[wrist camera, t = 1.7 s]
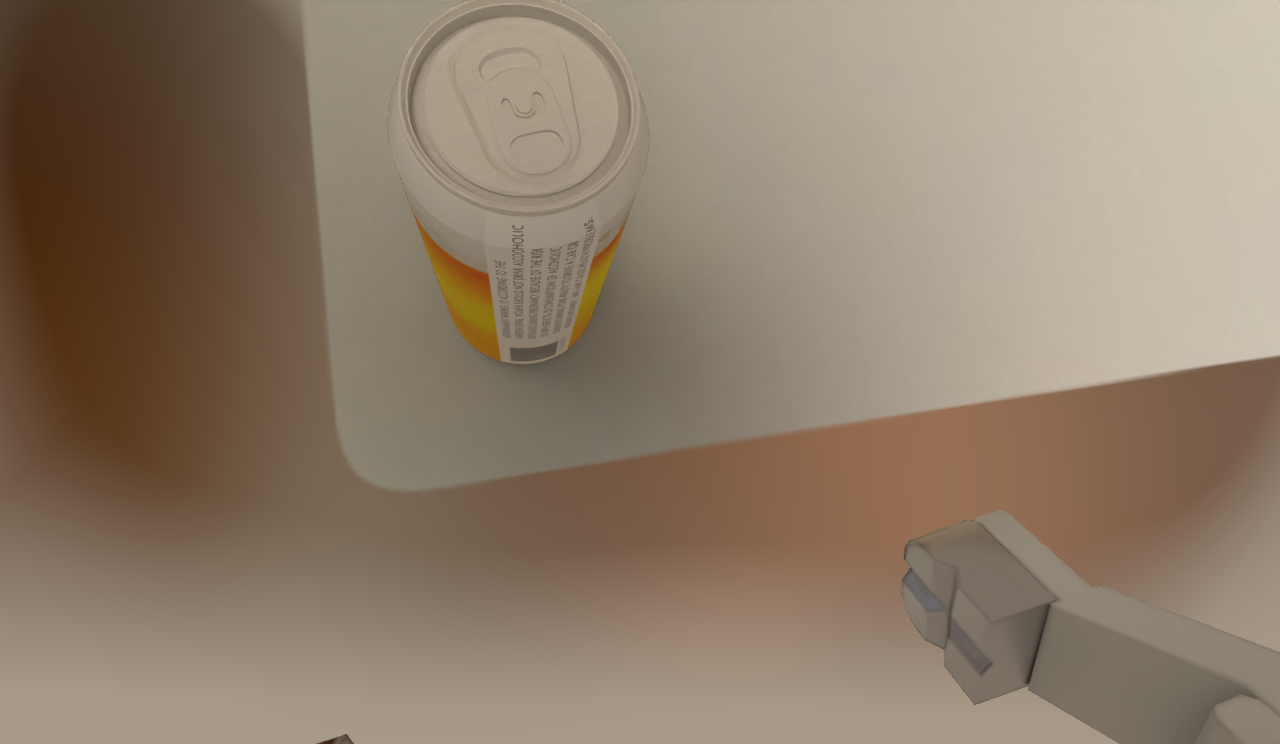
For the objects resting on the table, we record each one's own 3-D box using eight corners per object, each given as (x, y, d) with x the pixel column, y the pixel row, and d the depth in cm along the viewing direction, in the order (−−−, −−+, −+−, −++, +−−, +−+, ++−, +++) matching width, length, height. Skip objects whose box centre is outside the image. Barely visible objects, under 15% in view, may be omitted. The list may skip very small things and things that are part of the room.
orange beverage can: (568, 216, 31) (609, -43, 16) (611, 344, 30) (694, 192, 16) (431, 250, 30) (344, 2, 15) (472, 386, 29) (423, 260, 14)
